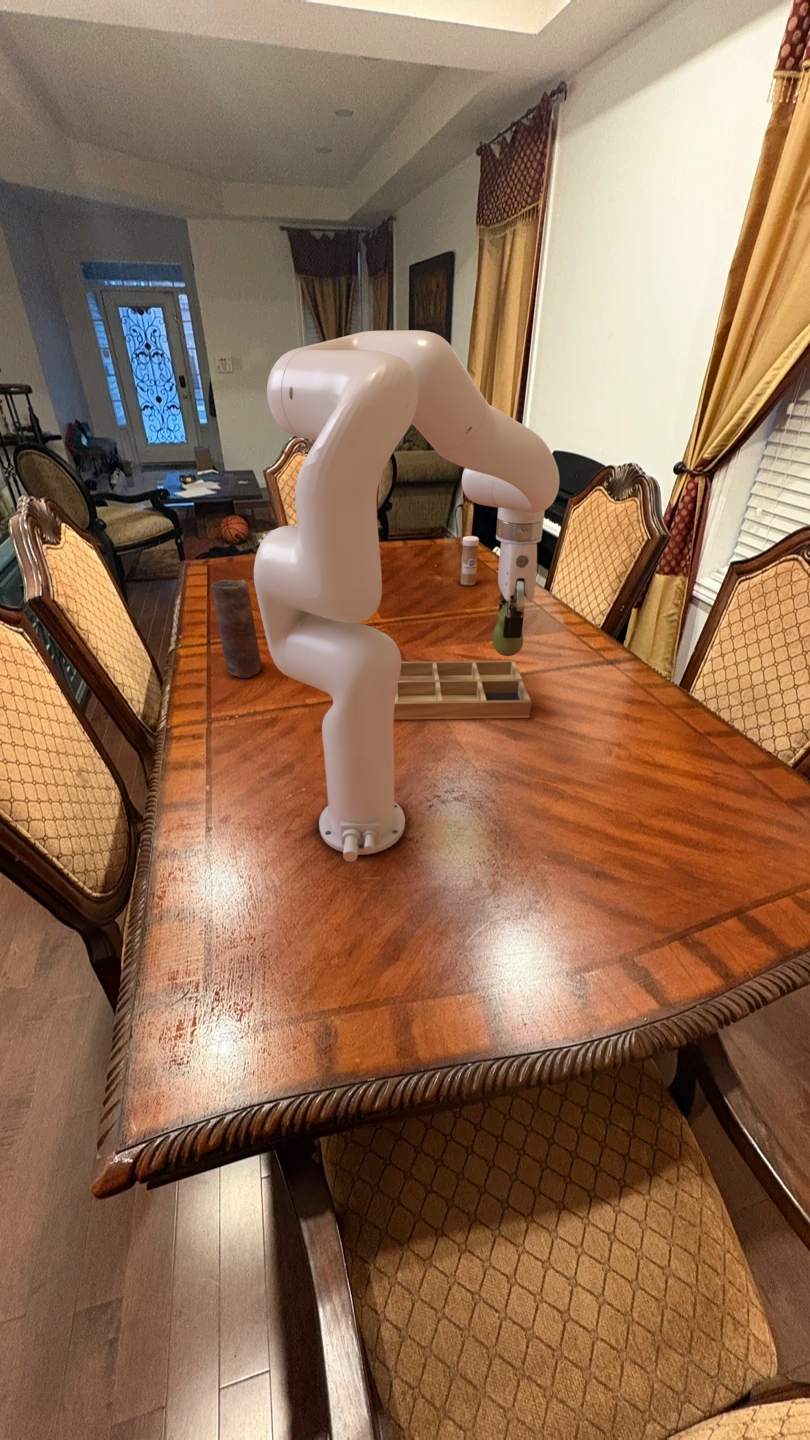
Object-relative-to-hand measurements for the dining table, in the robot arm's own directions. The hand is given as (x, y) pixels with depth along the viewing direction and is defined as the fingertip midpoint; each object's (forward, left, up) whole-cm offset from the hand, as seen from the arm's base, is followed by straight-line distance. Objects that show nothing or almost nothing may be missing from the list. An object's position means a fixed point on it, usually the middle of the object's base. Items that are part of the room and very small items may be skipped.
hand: (509, 629), depth 110 cm
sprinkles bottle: (+70, -2, -16) cm, 72 cm away
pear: (0, 0, -5) cm, 5 cm away
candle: (+16, +53, -16) cm, 58 cm away
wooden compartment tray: (+4, +8, -16) cm, 19 cm away
